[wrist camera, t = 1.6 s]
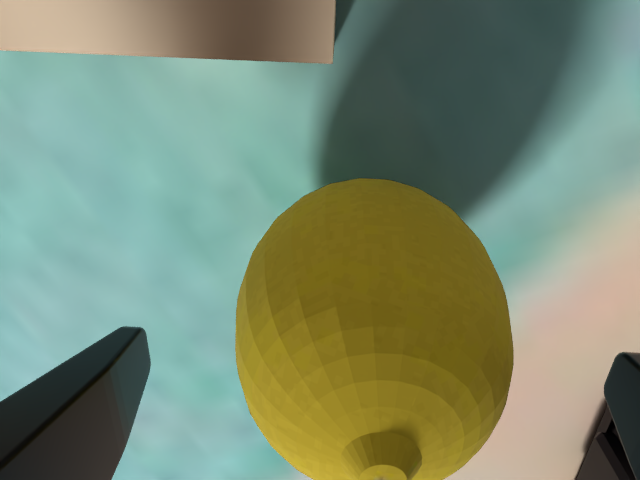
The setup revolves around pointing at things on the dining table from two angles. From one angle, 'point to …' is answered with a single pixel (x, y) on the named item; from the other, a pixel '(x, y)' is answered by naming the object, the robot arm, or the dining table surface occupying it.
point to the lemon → (373, 335)
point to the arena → (174, 28)
